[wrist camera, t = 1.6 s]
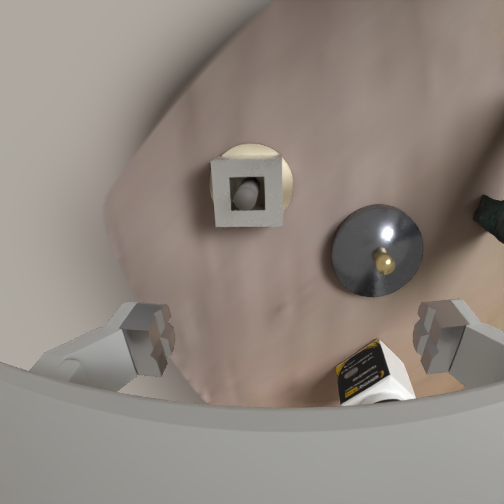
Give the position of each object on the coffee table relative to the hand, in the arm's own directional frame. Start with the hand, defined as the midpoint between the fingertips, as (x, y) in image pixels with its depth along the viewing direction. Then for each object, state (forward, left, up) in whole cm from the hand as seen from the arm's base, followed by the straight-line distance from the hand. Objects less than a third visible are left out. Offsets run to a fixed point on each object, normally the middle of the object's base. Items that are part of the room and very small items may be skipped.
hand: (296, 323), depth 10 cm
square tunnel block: (+1, -4, -22) cm, 22 cm away
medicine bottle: (+25, +11, -23) cm, 36 cm away
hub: (+8, +9, -23) cm, 26 cm away
